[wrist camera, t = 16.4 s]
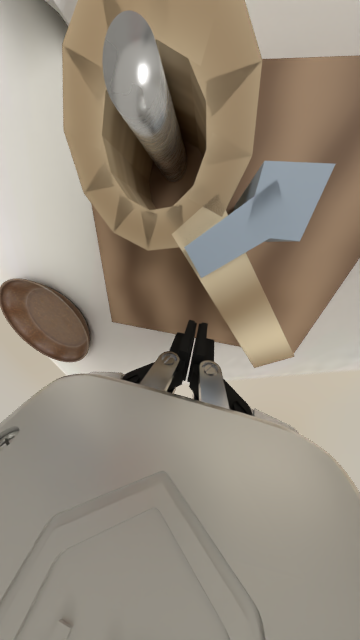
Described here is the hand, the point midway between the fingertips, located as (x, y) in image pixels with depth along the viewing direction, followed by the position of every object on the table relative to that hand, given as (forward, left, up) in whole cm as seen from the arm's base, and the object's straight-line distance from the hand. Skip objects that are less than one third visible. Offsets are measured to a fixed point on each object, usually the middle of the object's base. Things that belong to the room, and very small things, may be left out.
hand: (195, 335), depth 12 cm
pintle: (+4, -12, -6) cm, 14 cm away
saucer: (+23, +7, -7) cm, 25 cm away
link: (0, -7, -5) cm, 9 cm away
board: (0, -6, -6) cm, 9 cm away
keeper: (-1, -8, -6) cm, 10 cm away
